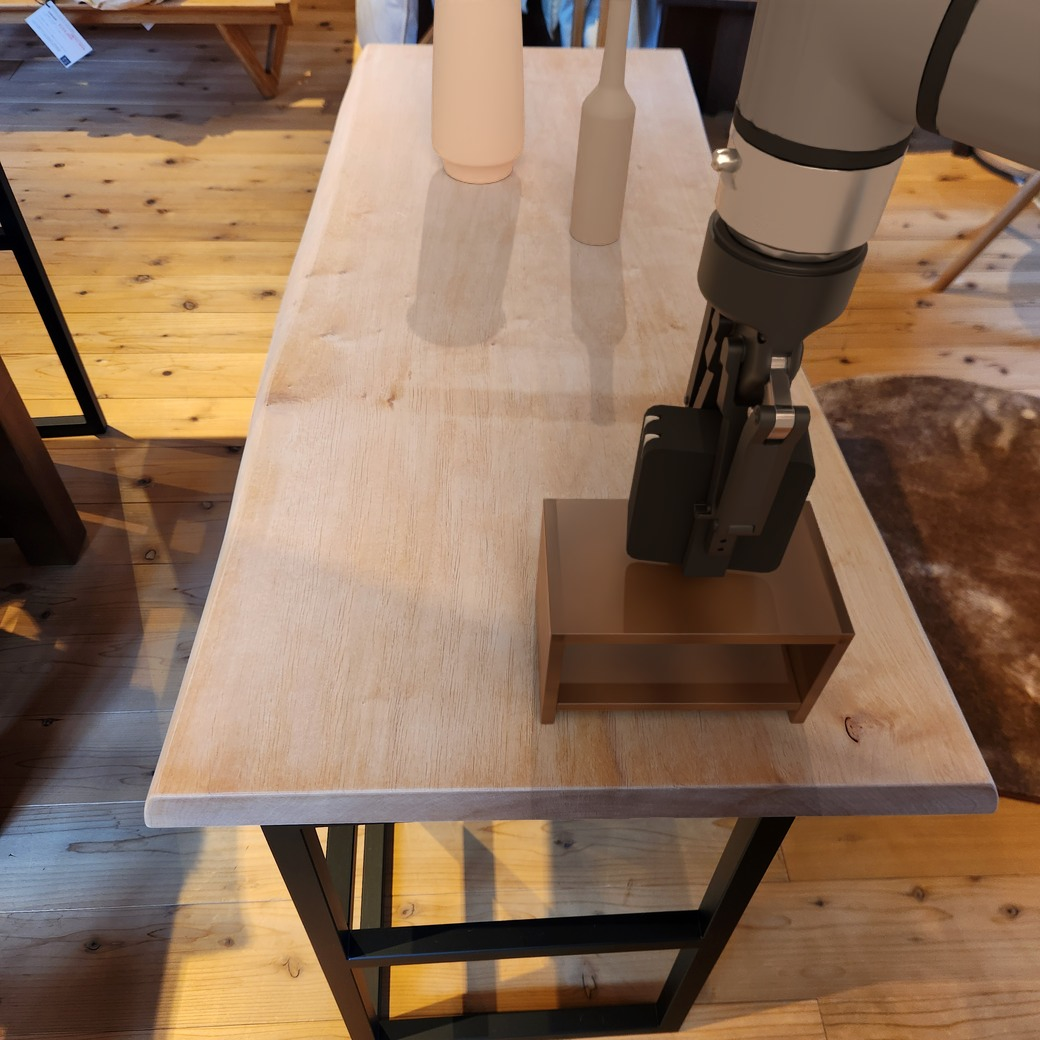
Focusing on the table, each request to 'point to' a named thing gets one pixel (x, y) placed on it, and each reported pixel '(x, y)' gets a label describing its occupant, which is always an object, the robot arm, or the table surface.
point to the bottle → (605, 141)
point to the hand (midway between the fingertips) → (695, 541)
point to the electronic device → (702, 490)
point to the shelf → (679, 623)
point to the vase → (478, 88)
